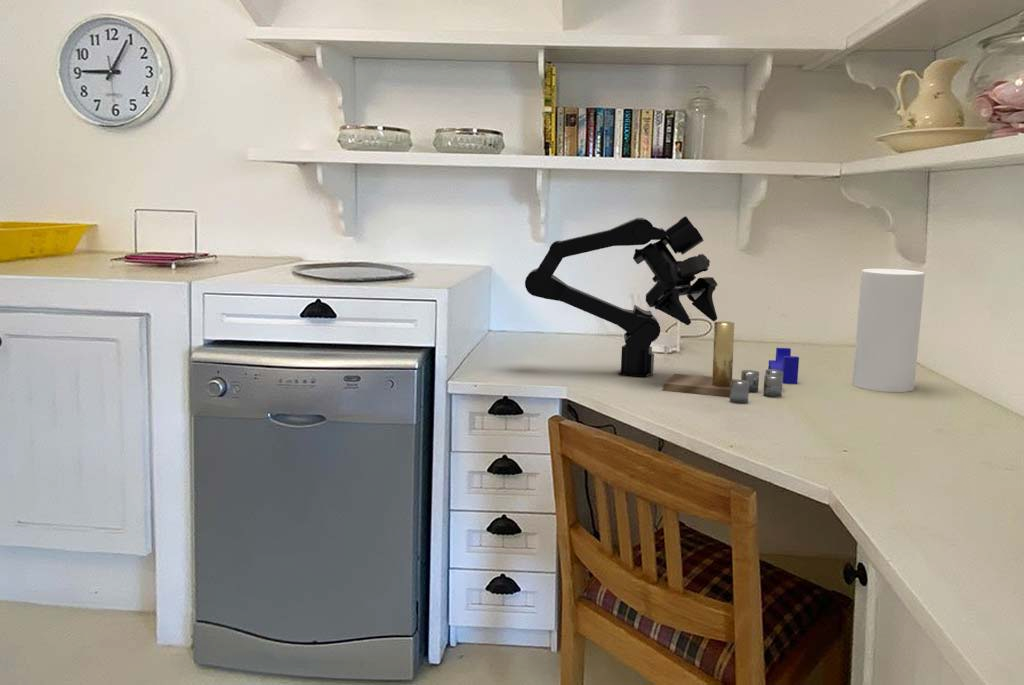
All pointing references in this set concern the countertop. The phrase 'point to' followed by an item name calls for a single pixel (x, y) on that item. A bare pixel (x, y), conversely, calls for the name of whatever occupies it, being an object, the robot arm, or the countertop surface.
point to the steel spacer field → (756, 385)
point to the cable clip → (786, 365)
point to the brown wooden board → (695, 385)
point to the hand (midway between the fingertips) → (702, 322)
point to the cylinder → (888, 329)
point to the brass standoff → (723, 353)
